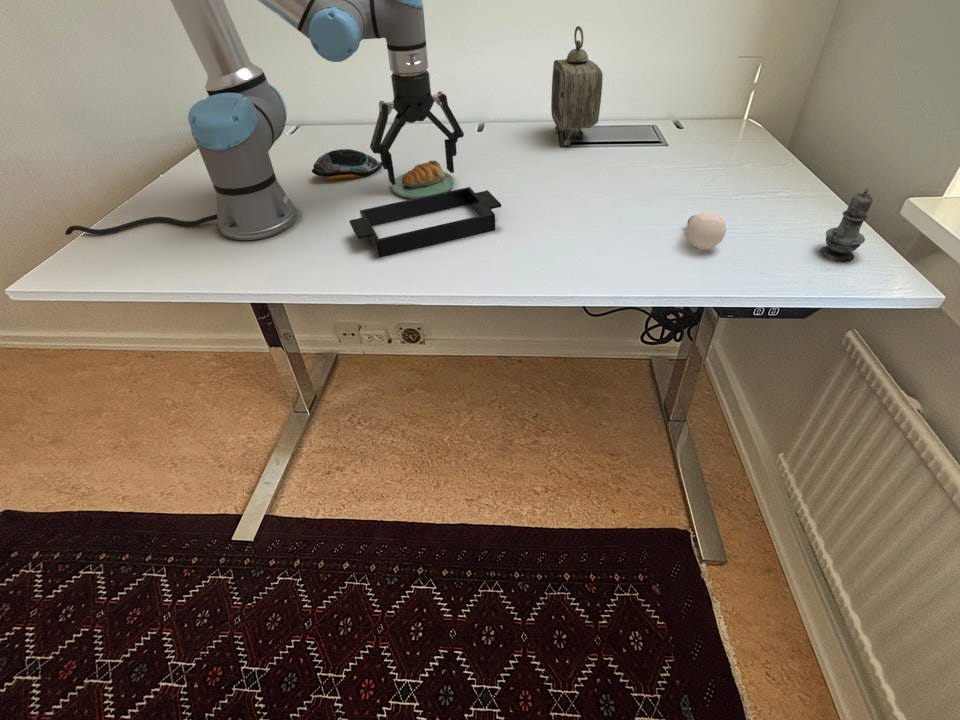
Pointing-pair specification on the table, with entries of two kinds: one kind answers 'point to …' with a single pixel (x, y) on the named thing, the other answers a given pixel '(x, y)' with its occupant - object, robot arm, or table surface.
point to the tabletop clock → (576, 91)
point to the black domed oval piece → (345, 164)
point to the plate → (422, 188)
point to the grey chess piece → (848, 230)
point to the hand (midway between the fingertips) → (421, 176)
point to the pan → (430, 235)
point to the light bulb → (705, 230)
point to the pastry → (424, 175)
